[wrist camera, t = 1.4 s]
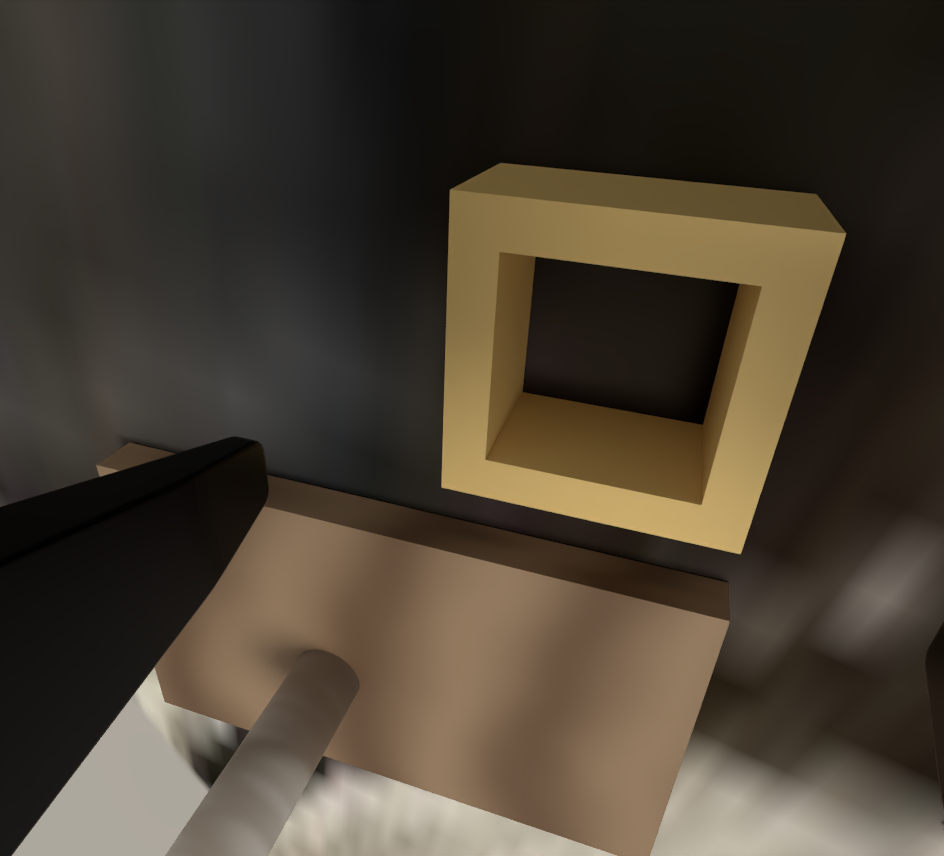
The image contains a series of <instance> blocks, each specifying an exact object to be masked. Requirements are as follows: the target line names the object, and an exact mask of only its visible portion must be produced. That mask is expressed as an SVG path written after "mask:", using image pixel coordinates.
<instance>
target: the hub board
mask: <svg viewBox="0 0 944 856" xmlns="http://www.w3.org/2000/svg"><path fill="white" fill-rule="evenodd" d="M173 454H176V453H172V452H168V451H163V450H159V449H155V448H151V447H146V446H142V445H138V444H133V443H128V444H126V445H125V446H123V447H122V448H120V449H119V450H117V451H116V452H115V453H113V454H112V455H110V456H109V457H107V458H106V459H104V460H103V461H101V462H100V463H98V464H97V465H96V466H97V469H98V473H99V476H100V477H101V476H104V475H107V474H111V473H114V472H117V471H120V470H124V469H127V468H130V467H134V466H137V465H140V464H143V463H147V462H150V461H153V460H157V459H160V458H163V457H166V456H170V455H173ZM267 476H268V483H269V494H268V498H267V501H266V503H265V505H264V507H263V509H262V510H261V512H260V514H259V515H258V517H257V519H256V520H255V522H254V524H253V525H252V527H251V529H250V530H249V532H248V534H247V535H246V537H245V539H244V540H243V542H242V543H241V545H240V547H239V548H238V550H237V552H236V553H235V555H234V557H233V558H232V560H231V562H230V563H229V565H228V567H227V568H226V570H225V572H224V573H223V575H222V576H221V578H220V579H219V581H218V582H217V584H216V586H215V587H214V588H213V590H212V591H211V593H210V594H209V595H208V597H207V598H206V600H205V601H204V602H203V604H202V605H201V606H200V608H199V609H198V610H197V611H196V613H195V614H194V615H193V617H192V618H191V619H190V621H189V622H188V623H187V625H186V626H185V627H184V629H183V630H182V631H181V633H180V634H179V635H178V637H177V638H176V639H175V641H174V642H173V643H172V645H171V646H170V647H169V648H168V650H167V651H166V652H165V654H164V655H163V656H162V658H161V659H160V660H159V662H158V663H157V664H156V666H155V670H156V673H157V677H158V680H159V683H160V687H161V690H162V694H163V697H164V701H165V702H167V703H170V704H173V705H176V706H179V707H181V708H184V709H187V710H190V711H193V712H196V713H199V714H202V715H205V716H208V717H211V718H214V719H217V720H220V721H223V722H226V723H229V724H232V725H235V726H237V727H240V728H243V729H246V730H249V733H248V734H247V736H246V737H245V739H244V740H243V742H242V743H241V745H240V746H239V747H238V749H237V750H236V752H235V753H234V755H233V756H232V758H231V759H230V761H229V762H228V764H227V765H226V767H225V768H224V770H223V771H222V773H221V774H220V776H219V777H218V778H217V780H216V781H215V783H214V784H213V786H212V787H211V789H210V790H209V792H208V793H207V795H206V796H205V798H204V799H203V801H202V802H201V804H200V805H199V807H198V808H197V810H196V811H195V813H194V814H193V816H192V817H191V819H190V820H189V821H188V823H187V824H186V826H185V827H184V829H183V830H182V832H181V833H180V835H179V836H178V838H177V839H176V841H175V842H174V844H173V845H172V846H171V848H170V849H169V851H168V852H167V854H166V855H165V856H268V854H269V852H270V851H271V849H272V847H273V845H274V843H275V841H276V840H277V838H278V836H279V834H280V832H281V831H282V829H283V827H284V825H285V823H286V821H287V820H288V818H289V816H290V814H291V812H292V811H293V809H294V807H295V805H296V803H297V801H298V800H299V798H300V796H301V794H302V792H303V790H304V789H305V787H306V785H307V783H308V781H309V780H310V778H311V776H312V774H313V772H314V770H315V769H316V767H317V765H318V763H319V761H320V760H321V758H322V756H326V757H329V758H332V759H335V760H338V761H341V762H344V763H346V764H349V765H352V766H355V767H358V768H361V769H364V770H367V771H370V772H373V773H376V774H379V775H382V776H385V777H388V778H391V779H394V780H397V781H400V782H402V783H405V784H408V785H411V786H414V787H417V788H420V789H423V790H426V791H429V792H432V793H435V794H438V795H441V796H444V797H447V798H450V799H453V800H456V801H458V802H461V803H464V804H467V805H470V806H473V807H476V808H479V809H482V810H485V811H488V812H491V813H494V814H497V815H500V816H503V817H506V818H509V819H511V820H514V821H517V822H520V823H523V824H526V825H529V826H532V827H535V828H538V829H541V830H544V831H547V832H550V833H553V834H556V835H559V836H562V837H565V838H567V839H570V840H573V841H576V842H579V843H582V844H585V845H588V846H591V847H594V848H597V849H600V850H603V851H606V852H609V853H612V854H615V855H618V856H650V853H651V850H652V847H653V844H654V842H655V839H656V836H657V833H658V830H659V827H660V824H661V821H662V818H663V815H664V812H665V809H666V806H667V804H668V801H669V798H670V795H671V792H672V789H673V786H674V783H675V780H676V777H677V774H678V771H679V769H680V766H681V763H682V760H683V757H684V754H685V751H686V748H687V745H688V742H689V739H690V736H691V733H692V731H693V728H694V725H695V722H696V719H697V716H698V713H699V710H700V707H701V704H702V701H703V698H704V696H705V693H706V690H707V687H708V684H709V681H710V678H711V675H712V672H713V669H714V666H715V663H716V660H717V658H718V655H719V652H720V649H721V646H722V643H723V640H724V637H725V634H726V631H727V628H728V625H729V622H730V610H729V583H728V582H723V581H719V580H715V579H711V578H706V577H702V576H698V575H693V574H689V573H685V572H681V571H676V570H672V569H668V568H664V567H659V566H655V565H651V564H646V563H642V562H638V561H634V560H629V559H625V558H621V557H616V556H612V555H608V554H604V553H599V552H595V551H591V550H587V549H582V548H578V547H574V546H569V545H565V544H561V543H557V542H552V541H548V540H544V539H540V538H535V537H531V536H527V535H522V534H518V533H514V532H510V531H505V530H501V529H497V528H493V527H488V526H484V525H480V524H475V523H471V522H467V521H463V520H458V519H454V518H450V517H445V516H441V515H437V514H433V513H428V512H424V511H420V510H416V509H411V508H407V507H403V506H398V505H394V504H390V503H386V502H381V501H377V500H373V499H369V498H364V497H360V496H356V495H351V494H347V493H343V492H339V491H334V490H330V489H326V488H322V487H317V486H313V485H309V484H304V483H300V482H296V481H292V480H287V479H283V478H279V477H274V476H270V475H267Z"/></svg>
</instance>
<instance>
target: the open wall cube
mask: <svg viewBox="0 0 944 856" xmlns="http://www.w3.org/2000/svg"><path fill="white" fill-rule="evenodd" d="M845 237H846V232H845V231H844V230H843V228H842V227H841V226H840V224H839V223H838V222H837V221H836V219H835V218H834V217H833V215H832V214H831V213H830V211H829V210H828V209H827V207H826V206H825V205H824V203H823V202H822V201H821V199H820V198H819V197H818V195H817V194H810V193H800V192H790V191H780V190H770V189H760V188H750V187H740V186H730V185H719V184H709V183H699V182H689V181H679V180H669V179H659V178H649V177H639V176H629V175H618V174H608V173H598V172H588V171H578V170H568V169H558V168H548V167H538V166H528V165H517V164H507V163H499V164H498V165H496V166H494V167H492V168H490V169H488V170H486V171H484V172H482V173H481V174H479V175H477V176H475V177H473V178H471V179H469V180H467V181H465V182H464V183H462V184H460V185H458V186H456V187H454V188H452V189H450V206H449V241H448V276H447V311H446V347H445V382H444V417H443V452H442V488H446V489H451V490H455V491H460V492H464V493H469V494H473V495H478V496H482V497H487V498H491V499H496V500H500V501H505V502H509V503H514V504H518V505H523V506H527V507H532V508H536V509H540V510H545V511H549V512H554V513H558V514H563V515H567V516H572V517H576V518H581V519H585V520H590V521H594V522H599V523H603V524H608V525H612V526H617V527H621V528H625V529H630V530H634V531H639V532H643V533H648V534H652V535H657V536H661V537H666V538H670V539H675V540H679V541H684V542H688V543H693V544H697V545H702V546H706V547H711V548H715V549H719V550H724V551H728V552H733V553H737V554H741V552H742V549H743V546H744V543H745V539H746V536H747V533H748V530H749V527H750V524H751V521H752V518H753V515H754V512H755V509H756V506H757V503H758V500H759V497H760V494H761V491H762V488H763V485H764V482H765V479H766V476H767V473H768V470H769V467H770V464H771V461H772V458H773V455H774V452H775V449H776V446H777V443H778V440H779V437H780V433H781V430H782V427H783V424H784V421H785V418H786V415H787V412H788V409H789V406H790V403H791V400H792V397H793V394H794V391H795V388H796V385H797V382H798V379H799V376H800V373H801V370H802V367H803V364H804V361H805V358H806V355H807V352H808V349H809V346H810V343H811V340H812V337H813V334H814V331H815V327H816V324H817V321H818V318H819V315H820V312H821V309H822V306H823V303H824V300H825V297H826V294H827V291H828V288H829V285H830V282H831V279H832V276H833V273H834V270H835V267H836V264H837V261H838V258H839V255H840V252H841V249H842V246H843V243H844V240H845ZM536 257H543V258H550V259H558V260H565V261H573V262H581V263H588V264H596V265H603V266H611V267H618V268H626V269H634V270H641V271H649V272H656V273H664V274H672V275H679V276H687V277H694V278H702V279H709V280H717V281H725V282H732V283H740V284H739V288H738V291H737V295H736V299H735V303H734V307H733V311H732V315H731V318H730V322H729V326H728V330H727V334H726V338H725V342H724V345H723V349H722V353H721V357H720V361H719V365H718V369H717V373H716V376H715V380H714V384H713V388H712V392H711V396H710V400H709V403H708V407H707V411H706V415H705V419H704V423H703V425H701V424H695V423H690V422H684V421H679V420H673V419H668V418H662V417H657V416H651V415H646V414H640V413H635V412H629V411H624V410H618V409H613V408H607V407H602V406H596V405H591V404H585V403H580V402H574V401H569V400H563V399H558V398H552V397H547V396H541V395H536V394H530V393H525V392H523V383H524V373H525V362H526V352H527V341H528V331H529V320H530V310H531V300H532V289H533V279H534V268H535V258H536Z"/></svg>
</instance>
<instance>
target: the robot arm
mask: <svg viewBox="0 0 944 856" xmlns="http://www.w3.org/2000/svg"><path fill="white" fill-rule="evenodd" d="M268 494H269V483H268V476H267V468H266V461H265V454H264V449H263V447H262V445H261V444H260V443H259V442H258V441H255V440H250V439H246V438H241V437H229V438H226V439H222V440H219V441H216V442H213V443H209V444H206V445H203V446H199V447H196V448H193V449H189V450H186V451H183V452H180V453H176V454H173V455H170V456H166V457H163V458H160V459H157V460H153V461H150V462H147V463H143V464H140V465H137V466H134V467H130V468H127V469H124V470H120V471H117V472H114V473H111V474H107V475H104V476H101V477H97V478H94V479H91V480H88V481H84V482H81V483H78V484H74V485H71V486H68V487H65V488H61V489H58V490H55V491H51V492H48V493H45V494H41V495H38V496H35V497H32V498H28V499H25V500H22V501H18V502H15V503H12V504H9V505H5V506H2V507H0V856H12V855H13V853H14V852H15V851H16V849H17V848H18V846H19V845H20V844H21V843H22V841H23V840H24V839H25V837H26V836H27V835H28V833H29V832H30V831H31V830H32V828H33V827H34V826H35V824H36V823H37V822H38V820H39V819H40V818H41V816H42V815H43V814H44V812H45V811H46V810H47V808H48V807H49V806H50V804H51V803H52V802H53V800H54V799H55V798H56V796H57V795H58V794H59V792H60V791H61V790H62V788H63V787H64V786H65V785H66V783H67V782H68V781H69V779H70V778H71V777H72V775H73V774H74V773H75V771H76V770H77V769H78V767H79V766H80V765H81V763H82V762H83V761H84V759H85V758H86V757H87V756H88V754H89V753H90V752H91V750H92V749H93V748H94V746H95V745H96V744H97V742H98V741H99V740H100V738H101V737H102V736H103V734H104V733H105V732H106V730H107V729H108V728H109V726H110V725H111V724H112V722H113V721H114V720H115V719H116V717H117V716H118V715H119V713H120V712H121V711H122V709H123V708H124V707H125V705H126V704H127V703H128V701H129V700H130V699H131V697H132V696H133V695H134V693H135V692H136V691H137V689H138V688H139V687H140V685H141V684H142V683H143V682H144V680H145V679H146V678H147V676H148V675H149V674H150V672H151V671H152V670H153V668H154V667H155V666H156V664H157V663H158V662H159V660H160V659H161V658H162V656H163V655H164V654H165V652H166V651H167V650H168V648H169V647H170V646H171V645H172V643H173V642H174V641H175V639H176V638H177V637H178V635H179V634H180V633H181V631H182V630H183V629H184V627H185V626H186V625H187V623H188V622H189V621H190V619H191V618H192V617H193V615H194V614H195V613H196V611H197V610H198V609H199V608H200V606H201V605H202V604H203V602H204V601H205V600H206V598H207V597H208V595H209V594H210V593H211V591H212V590H213V588H214V587H215V586H216V584H217V582H218V581H219V579H220V578H221V576H222V575H223V573H224V572H225V570H226V568H227V567H228V565H229V563H230V562H231V560H232V558H233V557H234V555H235V553H236V552H237V550H238V548H239V547H240V545H241V543H242V542H243V540H244V539H245V537H246V535H247V534H248V532H249V530H250V529H251V527H252V525H253V524H254V522H255V520H256V519H257V517H258V515H259V514H260V512H261V510H262V509H263V507H264V505H265V503H266V501H267V498H268ZM925 672H926V681H927V689H928V697H929V706H930V714H931V722H932V731H933V739H934V748H935V756H936V764H937V773H938V779H939V786H940V793H941V798H942V803H943V807H944V622H943V624H942V625H941V627H940V629H939V631H938V632H937V634H936V636H935V637H934V639H933V641H932V643H931V644H930V646H929V648H928V651H927V654H926V659H925Z"/></svg>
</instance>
